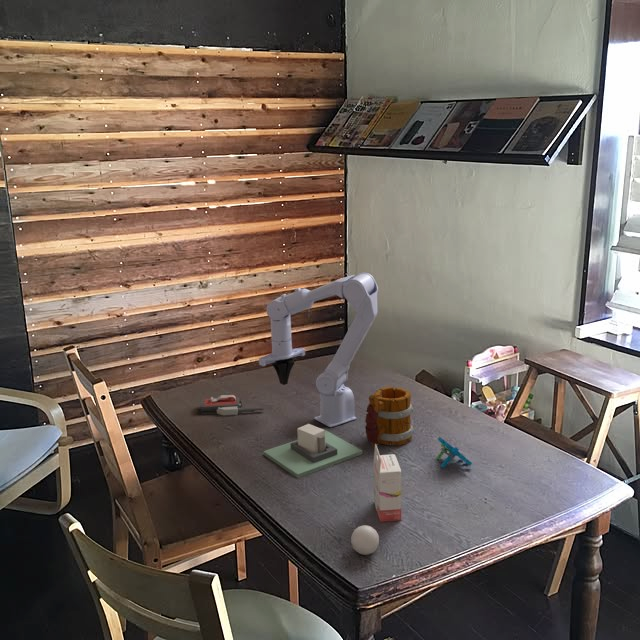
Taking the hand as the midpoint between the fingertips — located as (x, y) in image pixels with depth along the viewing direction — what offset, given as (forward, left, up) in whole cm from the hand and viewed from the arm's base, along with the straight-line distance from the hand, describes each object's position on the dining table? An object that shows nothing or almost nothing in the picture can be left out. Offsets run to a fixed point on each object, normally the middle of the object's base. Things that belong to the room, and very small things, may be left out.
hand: (283, 383), depth 210 cm
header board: (+9, +27, -9) cm, 30 cm away
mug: (-11, +33, -10) cm, 36 cm away
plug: (+9, +27, -8) cm, 29 cm away
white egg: (+25, +68, -10) cm, 73 cm away
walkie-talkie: (+11, -13, -10) cm, 20 cm away
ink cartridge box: (+12, +60, -10) cm, 62 cm away
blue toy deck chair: (-15, +54, -10) cm, 56 cm away
